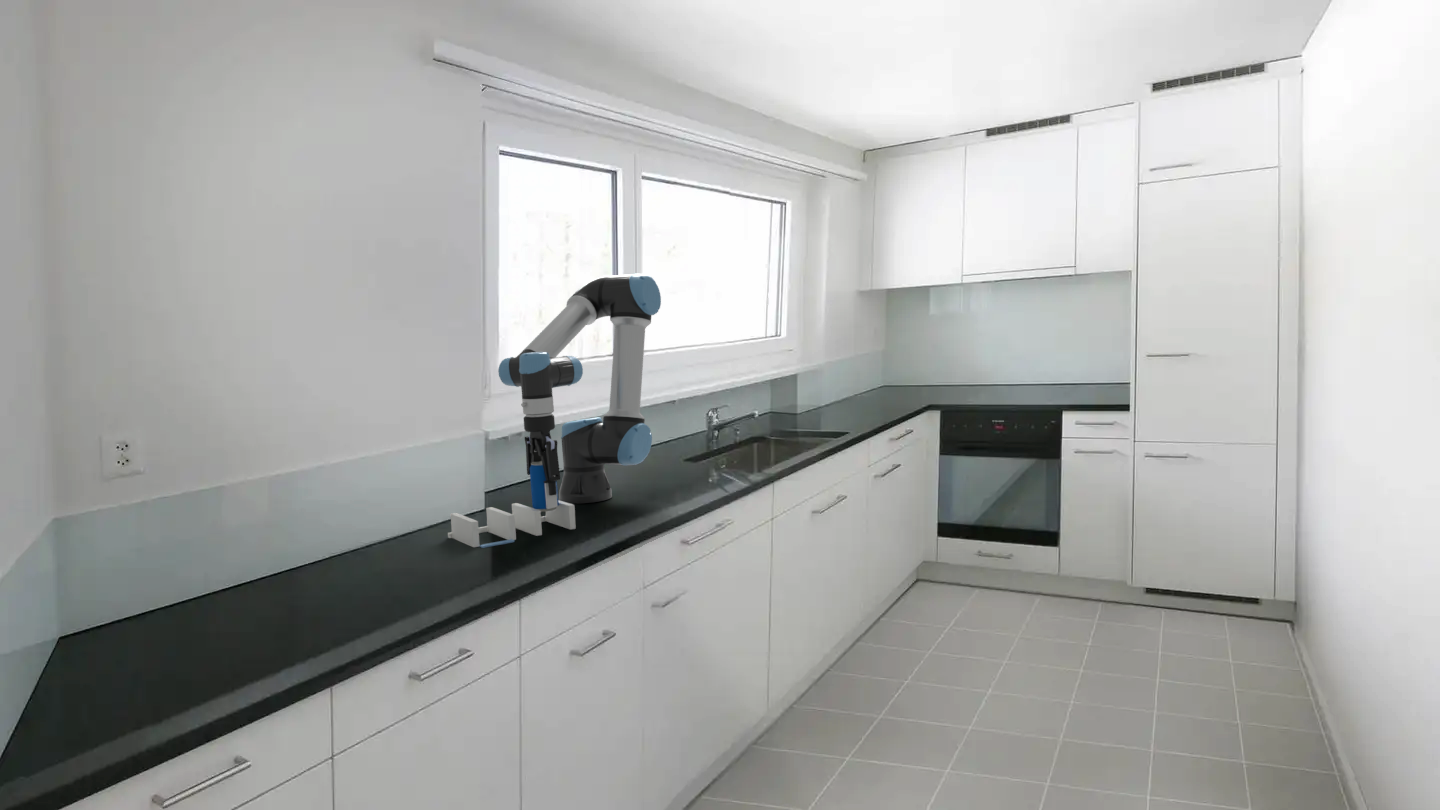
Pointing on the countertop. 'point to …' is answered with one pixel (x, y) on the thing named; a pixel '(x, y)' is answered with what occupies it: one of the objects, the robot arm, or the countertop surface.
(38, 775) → the countertop surface
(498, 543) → the blue bezel
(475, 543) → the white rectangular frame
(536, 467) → the beverage can
